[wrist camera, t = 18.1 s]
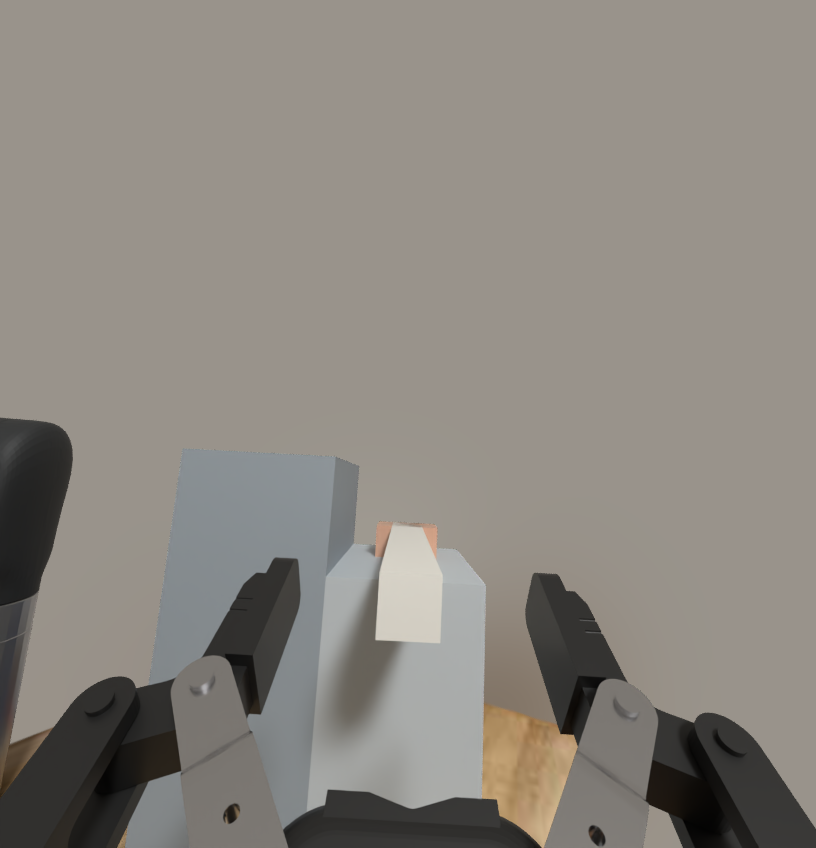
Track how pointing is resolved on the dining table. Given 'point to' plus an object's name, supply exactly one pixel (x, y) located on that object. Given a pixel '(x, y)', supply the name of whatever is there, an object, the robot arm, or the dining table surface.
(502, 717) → the dining table surface
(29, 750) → the dining table surface
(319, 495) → the riser
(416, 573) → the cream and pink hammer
